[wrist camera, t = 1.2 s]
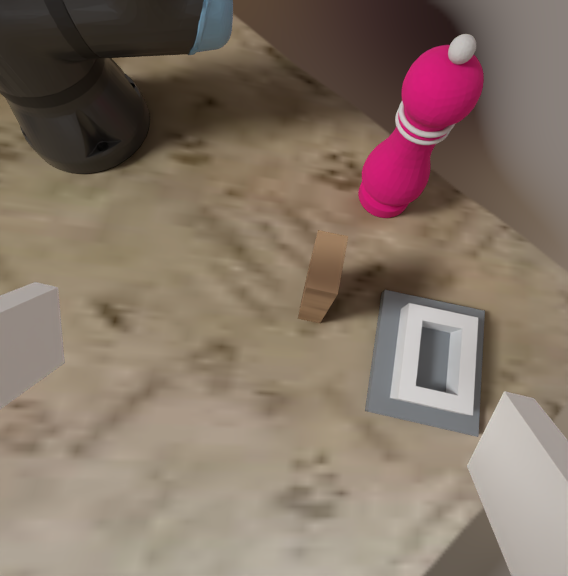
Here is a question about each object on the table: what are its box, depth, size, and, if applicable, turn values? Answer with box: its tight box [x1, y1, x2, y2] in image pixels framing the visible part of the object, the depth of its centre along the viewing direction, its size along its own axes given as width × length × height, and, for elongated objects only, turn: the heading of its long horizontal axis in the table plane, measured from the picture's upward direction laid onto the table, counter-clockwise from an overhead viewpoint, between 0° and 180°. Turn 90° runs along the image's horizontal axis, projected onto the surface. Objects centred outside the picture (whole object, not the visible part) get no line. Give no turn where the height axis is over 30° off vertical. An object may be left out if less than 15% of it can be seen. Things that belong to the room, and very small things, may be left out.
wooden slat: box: [298, 230, 348, 323], centre depth 33 cm, size 5×2×12 cm, turn 168°
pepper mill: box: [359, 34, 483, 218], centre depth 33 cm, size 7×7×20 cm
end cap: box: [365, 290, 485, 437], centre depth 35 cm, size 13×11×4 cm
